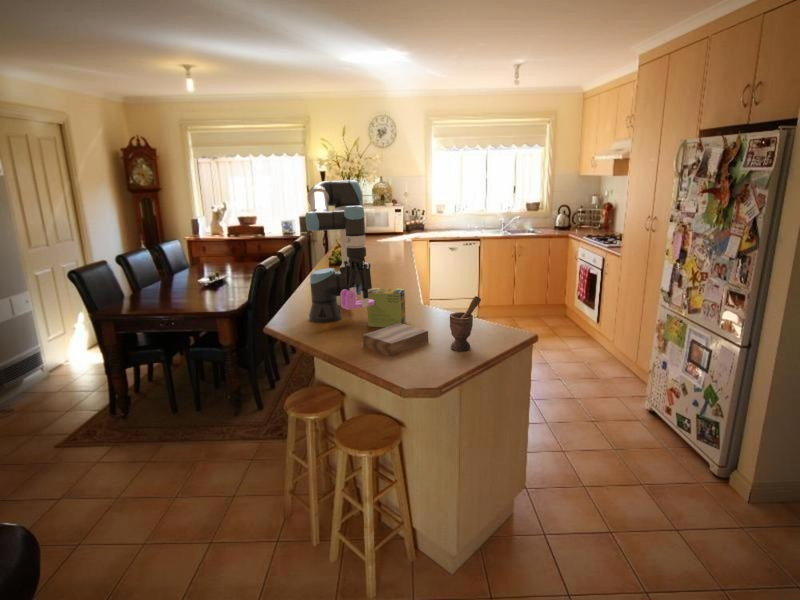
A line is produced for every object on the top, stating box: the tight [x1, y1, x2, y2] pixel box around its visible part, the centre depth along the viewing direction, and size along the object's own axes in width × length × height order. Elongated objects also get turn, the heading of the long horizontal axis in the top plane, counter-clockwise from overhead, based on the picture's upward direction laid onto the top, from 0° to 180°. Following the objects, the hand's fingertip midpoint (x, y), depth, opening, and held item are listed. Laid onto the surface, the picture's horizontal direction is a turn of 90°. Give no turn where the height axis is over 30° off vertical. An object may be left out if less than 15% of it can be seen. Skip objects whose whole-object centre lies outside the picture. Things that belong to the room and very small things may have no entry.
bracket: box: [339, 289, 374, 311], centre depth 187 cm, size 13×6×7 cm, turn 122°
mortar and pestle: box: [449, 295, 482, 352], centre depth 179 cm, size 12×9×20 cm
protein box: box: [366, 287, 407, 328], centre depth 212 cm, size 10×15×16 cm
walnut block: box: [362, 323, 429, 357], centre depth 186 cm, size 16×20×5 cm
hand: (359, 304), depth 188 cm, fingers closed on bracket, 6 cm apart
